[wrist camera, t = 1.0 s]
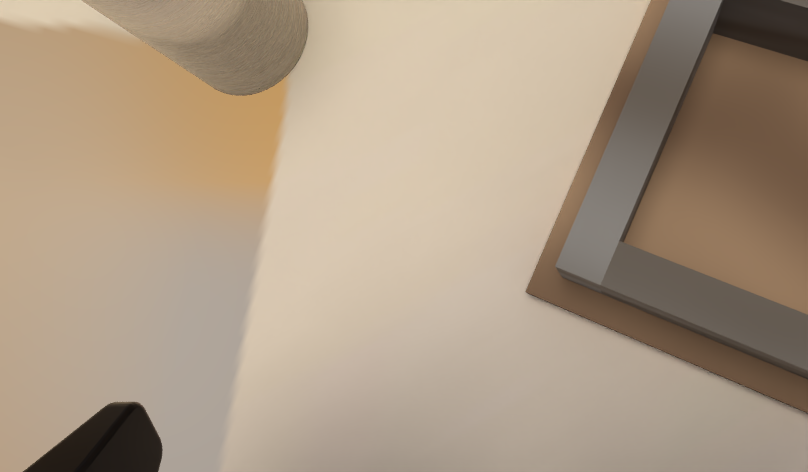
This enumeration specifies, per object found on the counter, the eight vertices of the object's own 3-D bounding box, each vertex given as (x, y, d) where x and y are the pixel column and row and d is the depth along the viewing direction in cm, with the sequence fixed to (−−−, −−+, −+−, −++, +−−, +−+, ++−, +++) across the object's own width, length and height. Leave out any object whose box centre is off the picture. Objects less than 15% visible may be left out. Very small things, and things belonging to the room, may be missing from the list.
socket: (922, 461, 20) (987, 485, 16) (527, 293, 23) (513, 282, 20) (1080, 75, 20) (1178, 18, 17) (670, -38, 23) (681, -106, 20)
